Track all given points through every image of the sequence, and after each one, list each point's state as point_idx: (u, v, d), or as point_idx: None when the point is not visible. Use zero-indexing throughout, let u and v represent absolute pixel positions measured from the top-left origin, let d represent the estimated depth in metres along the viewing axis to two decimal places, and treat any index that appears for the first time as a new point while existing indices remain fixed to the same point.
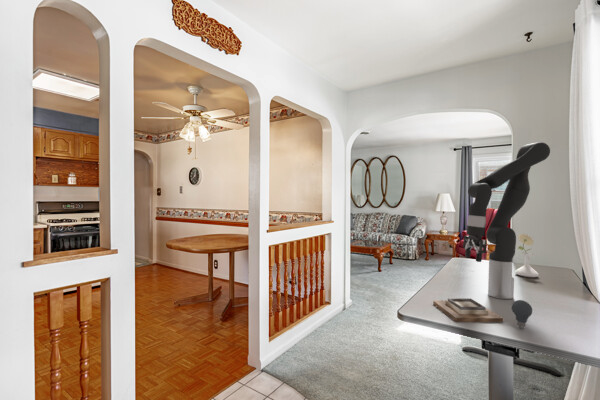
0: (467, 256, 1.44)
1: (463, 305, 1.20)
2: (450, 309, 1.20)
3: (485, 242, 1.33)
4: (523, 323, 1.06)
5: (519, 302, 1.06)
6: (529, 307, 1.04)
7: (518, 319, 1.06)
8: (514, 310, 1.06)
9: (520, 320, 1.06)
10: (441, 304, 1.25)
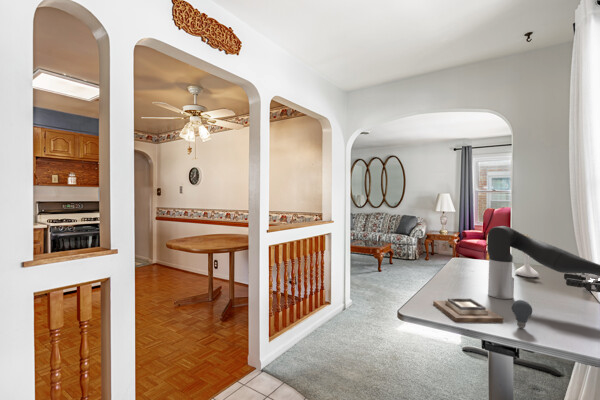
0: (566, 276, 1.02)
1: (463, 305, 1.20)
2: (450, 309, 1.20)
3: None
4: (523, 323, 1.06)
5: (519, 302, 1.06)
6: (529, 307, 1.04)
7: (518, 319, 1.06)
8: (514, 310, 1.06)
9: (520, 320, 1.06)
10: (441, 304, 1.25)
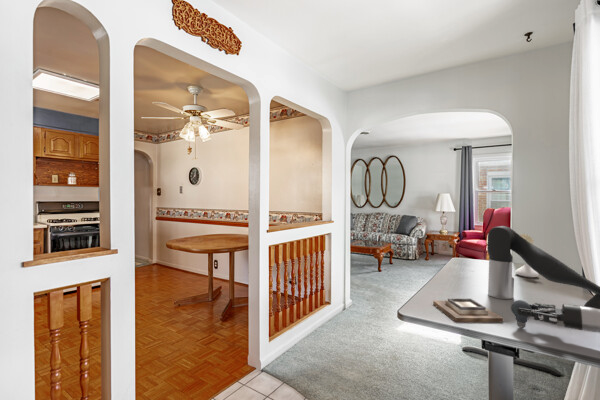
0: None
1: (463, 305, 1.20)
2: (450, 309, 1.20)
3: (553, 321, 0.96)
4: (523, 323, 1.06)
5: (518, 302, 1.06)
6: (528, 307, 1.04)
7: (518, 319, 1.06)
8: (513, 311, 1.06)
9: (520, 320, 1.06)
10: (441, 304, 1.25)
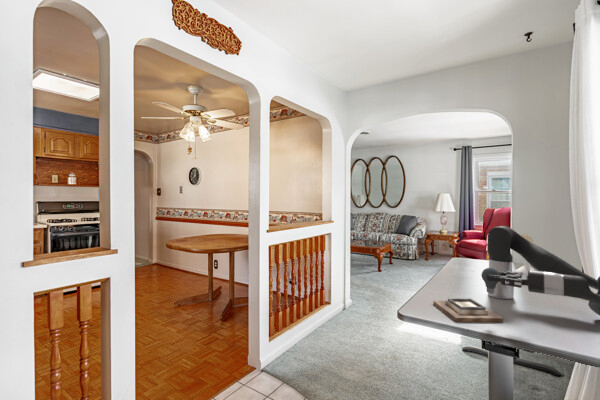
0: None
1: (463, 305, 1.20)
2: (450, 309, 1.20)
3: (517, 285, 1.02)
4: (492, 289, 1.12)
5: (488, 270, 1.12)
6: (497, 274, 1.10)
7: (487, 285, 1.12)
8: (483, 277, 1.12)
9: (489, 286, 1.12)
10: (441, 304, 1.25)
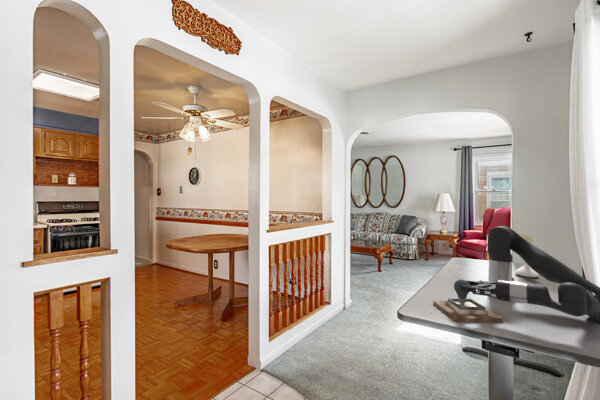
0: None
1: (463, 305, 1.20)
2: (450, 309, 1.20)
3: (487, 294, 1.10)
4: (463, 299, 1.20)
5: (459, 281, 1.21)
6: None
7: (459, 296, 1.21)
8: (455, 288, 1.21)
9: (460, 297, 1.21)
10: (441, 304, 1.25)
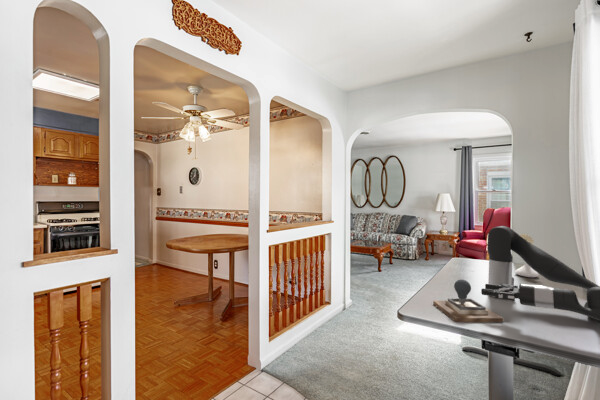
0: (487, 286, 1.19)
1: (463, 305, 1.20)
2: (450, 309, 1.20)
3: (511, 299, 1.05)
4: (463, 299, 1.20)
5: (460, 281, 1.21)
6: (467, 285, 1.19)
7: (459, 296, 1.21)
8: (455, 288, 1.21)
9: (460, 297, 1.21)
10: (441, 304, 1.25)
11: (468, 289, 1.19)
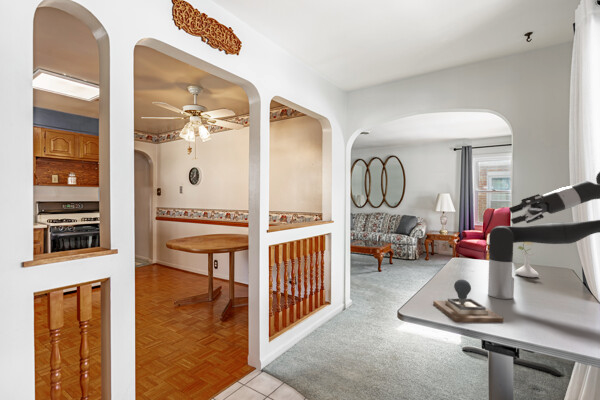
0: (513, 220, 1.18)
1: (463, 305, 1.20)
2: (450, 309, 1.20)
3: (539, 198, 1.07)
4: (463, 299, 1.20)
5: (460, 281, 1.21)
6: (467, 285, 1.19)
7: (459, 296, 1.21)
8: (455, 288, 1.21)
9: (460, 297, 1.21)
10: (441, 304, 1.25)
11: (468, 289, 1.19)
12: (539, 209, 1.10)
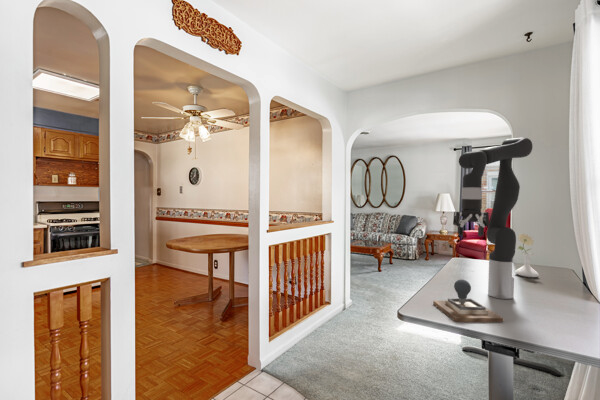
0: (479, 234, 1.29)
1: (463, 305, 1.20)
2: (450, 309, 1.20)
3: (456, 213, 1.27)
4: (463, 299, 1.20)
5: (460, 281, 1.21)
6: (467, 285, 1.19)
7: (459, 296, 1.21)
8: (455, 288, 1.21)
9: (460, 297, 1.21)
10: (441, 304, 1.25)
11: (468, 289, 1.19)
12: (470, 215, 1.26)
